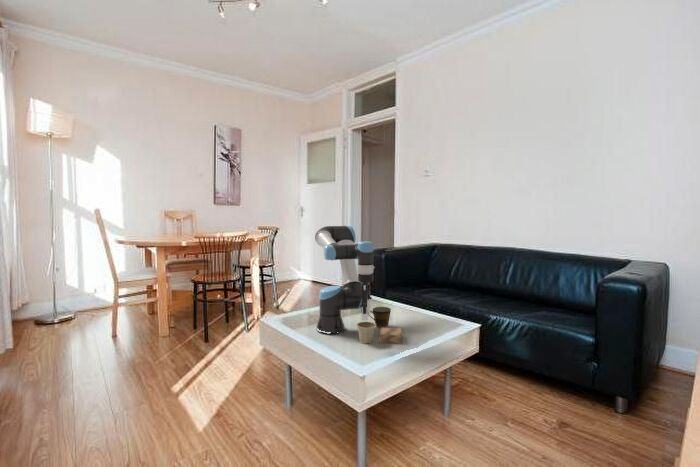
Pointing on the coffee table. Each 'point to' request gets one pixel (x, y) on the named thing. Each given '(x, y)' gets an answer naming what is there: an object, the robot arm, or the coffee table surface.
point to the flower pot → (366, 331)
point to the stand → (390, 335)
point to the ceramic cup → (381, 316)
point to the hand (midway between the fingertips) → (366, 316)
